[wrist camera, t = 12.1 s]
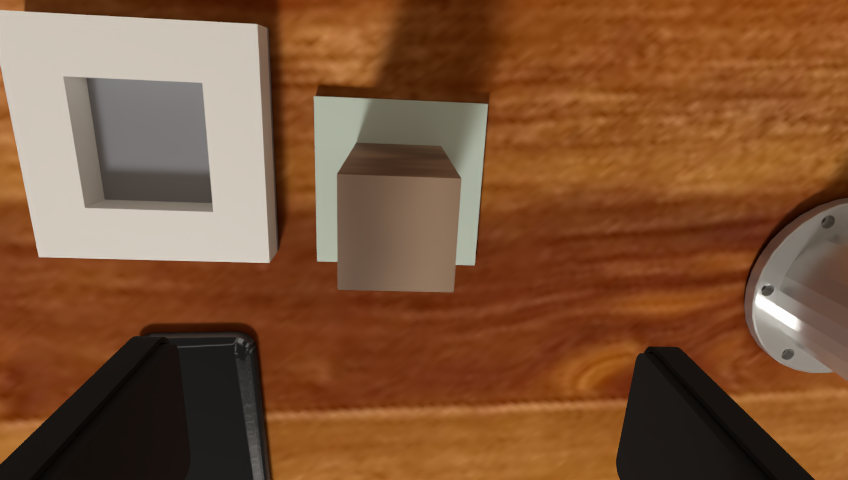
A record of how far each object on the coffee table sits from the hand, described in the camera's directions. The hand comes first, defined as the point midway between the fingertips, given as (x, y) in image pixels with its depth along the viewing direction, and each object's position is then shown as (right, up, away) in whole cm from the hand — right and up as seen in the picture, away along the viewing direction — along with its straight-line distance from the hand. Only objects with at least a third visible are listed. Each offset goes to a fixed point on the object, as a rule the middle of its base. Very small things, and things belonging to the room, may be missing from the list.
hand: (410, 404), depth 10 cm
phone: (-15, -10, +26) cm, 32 cm away
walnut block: (-1, +7, +20) cm, 21 cm away
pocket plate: (-15, +9, +19) cm, 26 cm away
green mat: (-1, +7, +21) cm, 22 cm away
